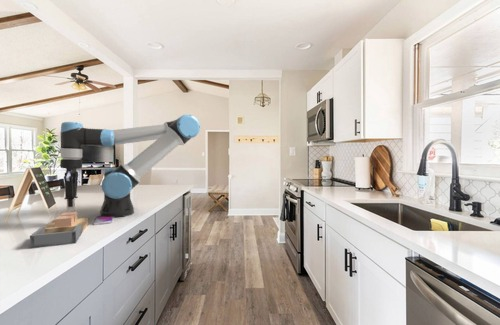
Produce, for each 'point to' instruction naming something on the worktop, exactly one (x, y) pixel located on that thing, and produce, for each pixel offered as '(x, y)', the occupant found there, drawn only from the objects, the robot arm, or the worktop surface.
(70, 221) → the tile
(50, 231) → the board
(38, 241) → the tray
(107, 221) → the smartphone
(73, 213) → the tile
